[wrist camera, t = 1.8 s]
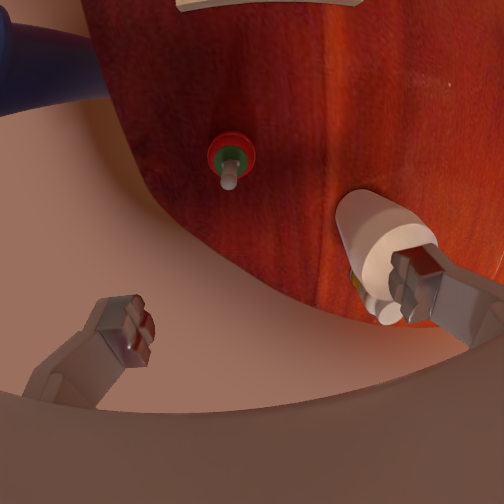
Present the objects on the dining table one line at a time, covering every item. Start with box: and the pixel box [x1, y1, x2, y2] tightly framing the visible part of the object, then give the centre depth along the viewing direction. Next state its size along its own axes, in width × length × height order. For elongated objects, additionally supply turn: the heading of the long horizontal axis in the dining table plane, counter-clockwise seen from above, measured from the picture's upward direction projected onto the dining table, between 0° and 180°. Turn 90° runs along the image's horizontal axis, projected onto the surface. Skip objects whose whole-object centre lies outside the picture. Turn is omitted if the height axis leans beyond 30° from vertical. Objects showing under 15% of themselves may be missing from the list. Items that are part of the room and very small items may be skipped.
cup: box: [335, 189, 438, 301], centre depth 29 cm, size 9×9×12 cm
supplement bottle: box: [350, 268, 403, 325], centre depth 35 cm, size 5×5×10 cm
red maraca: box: [207, 130, 256, 190], centre depth 25 cm, size 5×5×12 cm
